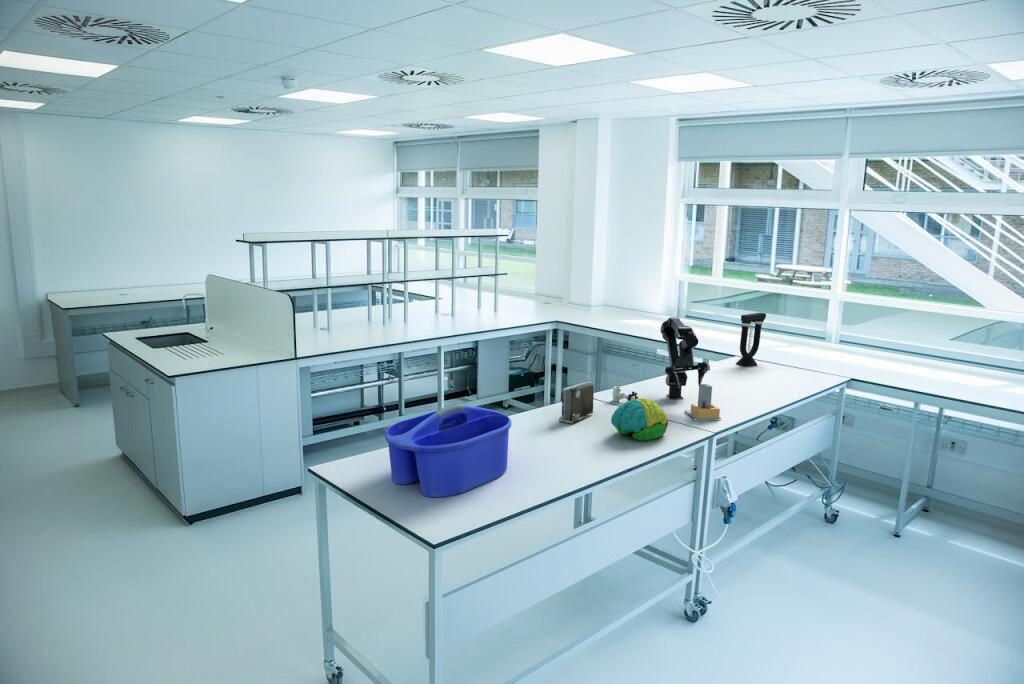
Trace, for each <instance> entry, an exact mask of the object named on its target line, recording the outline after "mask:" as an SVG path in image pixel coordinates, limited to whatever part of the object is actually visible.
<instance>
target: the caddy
mask: <svg viewBox="0 0 1024 684" xmlns="http://www.w3.org/2000/svg"><path fill="white" fill-rule="evenodd" d="M511 427H512V420H511V418H510V417H509V416H508V415H506V413H504V412H503V413H502V412H500V411H497V410H493V409H489V408H484V407H479V406H473V405H468V404H467V405H466V404H452V405H448V406H445V407H443V408H441V409H439V410H435V411H431V412H429V413H426V414H423V415H419V416H415V417H412V418H408V419H404V420H402V421H397V422H396V423H394V424H392V425H391V426H389V427H388V428H387V429H386V431H385V433H384V438H385V441H386V442H387V444H388V445H387V446H388V453H389V461H390V470H391V472H390V473H391V480H392V483H394V482H395V483H394V484H396V485H400V484H404V485H408V484H412V483H415V482H416V481H419V486H420V487H419V488H420V492H421V494H422V495H423V496H425V497H429V498H443V497H450V496H455V495H459V494H463V493H465V492H467V491H470V490H472V489H474V488H477V487H479V486H481V485H483V484H485V483H488V482H491V481H493V480H496V479H497V478H499V477H501V476H503V474H504V473H505V472H506V471H507V469H508V456H509V455H508V454H509V453H508V452H509V435H510V434H509V432H510V431H509V430H510V429H511Z"/></svg>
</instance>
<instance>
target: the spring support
mask: <svg viewBox="0 0 1024 684" xmlns="http://www.w3.org/2000/svg"><path fill="white" fill-rule="evenodd" d="M766 318H767V313H766V312H754V313H747V314H741V316H740V321H741V332H740V333H741V334H740V341H739V352H740V354H741V358H740V359H739V360H737V361H736V363H735V364H736V365H738V366H741V365H742V366H741V367H746V366H757V365H758V363H757V361H756V360H755V359H754V356H755V355H756V354H757V352H758V351H759V346H760V341H761V333H762V332H761V331H762V326H763V323H764V321H765V319H766ZM753 325H754V326H753ZM757 367H758V366H757Z"/></svg>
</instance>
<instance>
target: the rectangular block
mask: <svg viewBox="0 0 1024 684" xmlns="http://www.w3.org/2000/svg"><path fill="white" fill-rule="evenodd" d="M712 392H713V386H712V385H711V384H708V383H704V384H703V383H701V384H699V385H698V397H697V398H698V399H697V407H699V408H700V409H702V408H707V404H712V395H713V393H712Z"/></svg>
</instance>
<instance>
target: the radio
mask: <svg viewBox="0 0 1024 684" xmlns="http://www.w3.org/2000/svg"><path fill="white" fill-rule="evenodd" d="M594 388H595V386H594V384H593V382H591V381H589V380H588V381H585V382H581V383H577V384H575V385H571V386H567V387H565V388H563V389H562V393H561V394H562V395H561V416H560V417H559V418H558V421H559V422H563V423H569V424H575V423H577V422H579V421H582V420H585V419H587V418H589V416H590V415H589V414H591V413H592V414H594V413H593V412H594V398H595V397H594V396H595V395H594V393H595V391H594V390H595V389H594ZM590 417H591V416H590Z"/></svg>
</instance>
